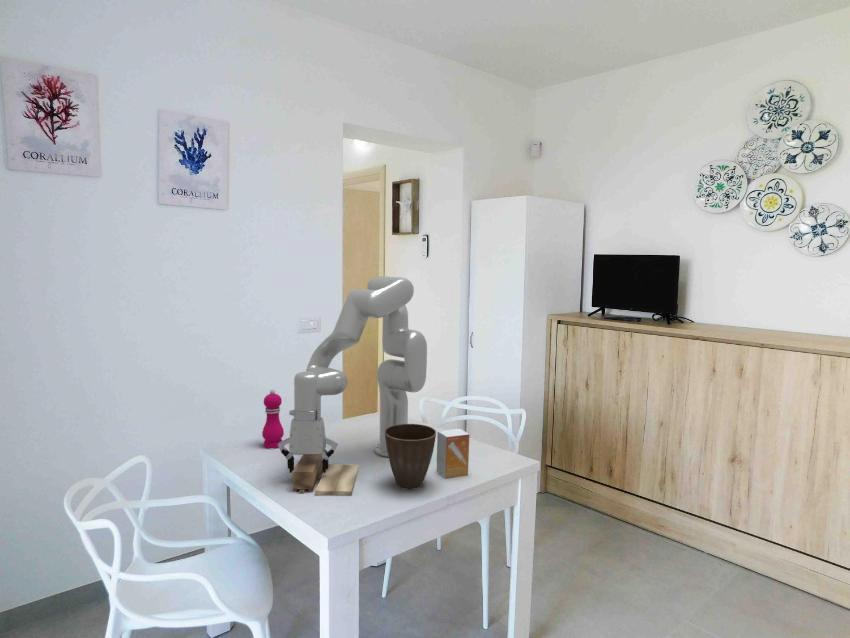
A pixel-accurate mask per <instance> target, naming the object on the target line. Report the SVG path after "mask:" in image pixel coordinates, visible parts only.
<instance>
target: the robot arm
mask: <svg viewBox="0 0 850 638" xmlns="http://www.w3.org/2000/svg"><path fill="white" fill-rule="evenodd" d="M366 288H367V289H365V288H363V289H361V288H357V289H353V290H352V291H350V292H349V293H348V295H347V296H346V299H345V302H344V304H343V306H342V308H341V311H340V313H339V316H338V318H337V321H336V323H335V326H334V329H333V331H332V332H331V333H330V334H329V335H328V336H327V337H326V338H324V340H323V341H322V342H320V344H319V345H318V346H317V347H316V349H315V350H314V352H313V353H312V355H311V356H310V359H309V362H308V364H307V367H306V369H305V371H301V372H296V374H295V375H294V378H293V382H294V383H293V387H294V390H293V391H294V394H293V396H294V398H293V399H294V400H293V401H294V409H291V410H289V413H288V415H289V416H293V417H292V419H291V421H290V422H291V423H290V428H289V437H288V438H286V439H284V440H282V442H280V443H279V444H278V447H279V448H278V449H279V450H280V451H281V454H282V455H283V456H284V457H285V459H286V461H287V462H286V463H287V469H288V470H289V473H290V474H292V473H293V471H294V469H295V455H297V456H298V455H299V456H300V455H301V456H302V455H319V454H321V456H322V473H321V474H323V473H325V472H326V469H328V464H329V458H331V456H332V455H334V453H335V451H336V450H337V448H338V445H339V444H338V443H337V442H336V441H334V440H332V439H330V438H328V437H326V436H327V435H326V429H325V427H326V426H325V421H324V418H323V417H321V416H322V410H321V409H322V396H335V395H336V396H337V395H339V394H341V393H343V392H344V391H346V389H347V387H348V381H349V380H348V377H347V375H346V374H345V373H344V372H343V371H341V370H339V369H335V368H331V367H330V365H331V362H332V361H333V359H334V358H335V357H336V356H337V355H338V354H339V353H341V352H343V351H344V350H347V349H349V348H351V347H354V346H355V345H357V344H359V342H360V340H361V338H362V335H363V333H364V329H365V328H366V324H367V322H368V319H369V318H372V319H373V318H374V319H380V318H382V339H381V342H382V343H381V344H382V350H383V352H384V353H386V354H387V355H389V356H393V357H397V358H400V359H401V358H402V359H404V360H399V359H386V360H383V361H382V362H381V363H380V364H379V366H378V368H377V372H376V376H377V384H378V388H379V444H377V445H376V446H374V452H375V454H376V455H379V456H382V457H386V458H387V457H388V452H387V446H386V438H385V430H386V429H387V428H389V427H391V426H394V425H399V424H409V423H408V419H409V413H408V412H409V411H408V410H409V398H408V395H407V393H418V392H420V391H422V389H423V388H424V385H425V383H426V379H427V370H428V369H427V366H428V365H427V363H428V362H427V361H428V343H427V339H426V338H425V336H424V334H423V333H422V332H420V331H418V330H415V329H409V328H410V327H409V313H408V309H407V306H406V305H407V304H408V303H409V302H410V301H411V300H412V298H413V296H414V291H415V288H414V285H413V283H412V282H411V281H410V280H409V279H408V278H405V277H398V276H383V275H382V276H374V277H372V278H371V279H369V280H368V282H367V285H366ZM286 445H288V449H287V448H286V447H285V446H286ZM327 445H328V446H330V447H331V448H330V449H329V450H327V449H326V447H327ZM388 458H389V457H388Z"/></svg>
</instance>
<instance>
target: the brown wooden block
mask: <svg viewBox="0 0 850 638" xmlns="http://www.w3.org/2000/svg"><path fill="white" fill-rule="evenodd" d="M322 460H323V457H322V456H321V454H319V455H301V457H300V459H299V460H298V462H297V464H296V466H294V470H293V472H292V492H293V493H296V492H298V490H300V489H306V490H308V492H309V493H313V492H314V490H315V487H317V485H318V484H317V483H318V481H319V480H320V477H321V476H322V475H321V474H323V473H322Z"/></svg>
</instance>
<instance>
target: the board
mask: <svg viewBox="0 0 850 638" xmlns="http://www.w3.org/2000/svg"><path fill="white" fill-rule="evenodd" d="M359 470H360V464H335V463H334V464H330V463H328V469H326V472H325V473H322V475H321V476H320V477H321V478H319V482H318V484H317V485H316V489H315V491H314V492H315V494H314V495H315V496H347V497H348V496H352V495H353V491H354V488H355V484H356V481H357V477H358V473H359ZM306 490H307V489H299V493H298V494H305V492H306Z"/></svg>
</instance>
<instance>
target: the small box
mask: <svg viewBox="0 0 850 638" xmlns="http://www.w3.org/2000/svg"><path fill="white" fill-rule="evenodd" d="M436 437H437V439H436V441H437V443H436V473H438V474H439V475H441V477H442V478H444V479H449V478H455V476H456V477H462V475H463V476H468V475H469V461H470V460H469V456H470V454H469V453H470V433H468V432H466V431H465V430H464V429H461V428H455V429H445V430H437V432H436Z"/></svg>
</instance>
